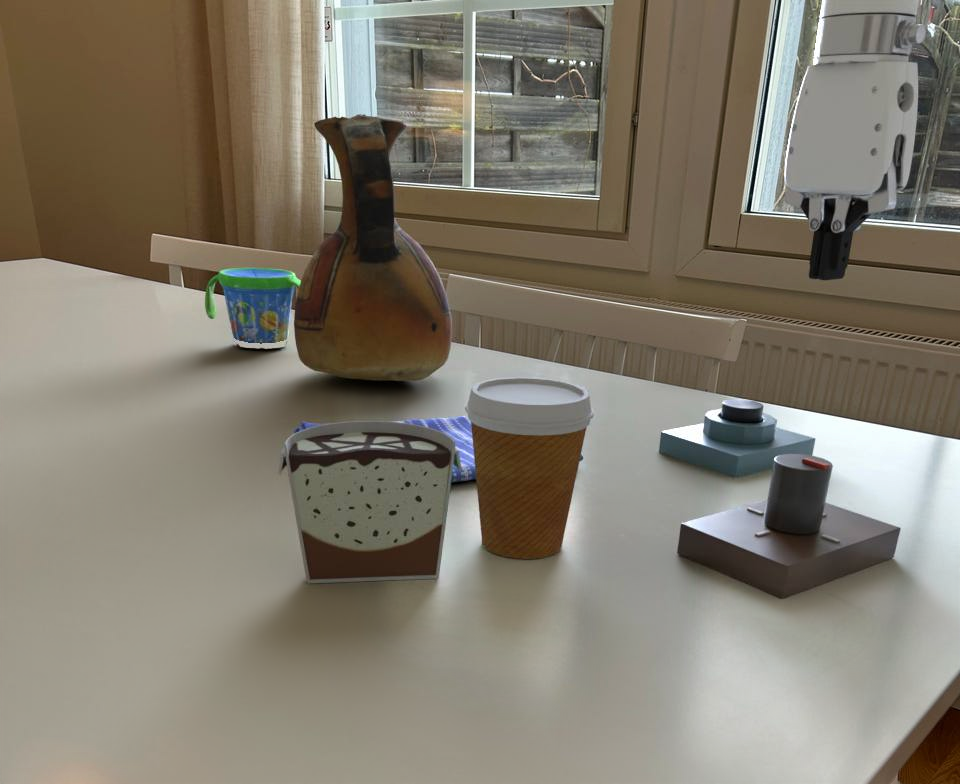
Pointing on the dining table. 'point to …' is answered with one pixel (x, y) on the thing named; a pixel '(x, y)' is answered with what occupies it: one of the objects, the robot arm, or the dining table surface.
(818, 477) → the knob
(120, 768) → the dining table surface
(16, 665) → the dining table surface
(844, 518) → the knob panel
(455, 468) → the dish towel
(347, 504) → the food container
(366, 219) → the ceramic pitcher
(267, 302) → the snack cup
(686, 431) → the button box
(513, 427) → the disposable coffee cup
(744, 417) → the button
